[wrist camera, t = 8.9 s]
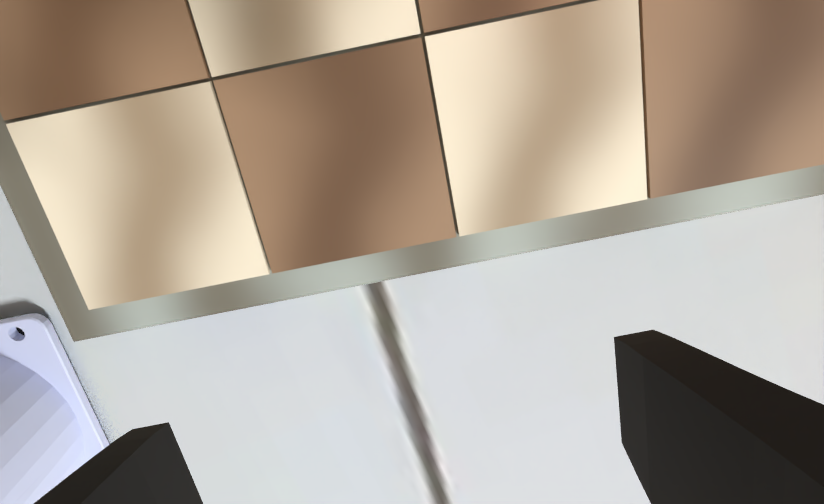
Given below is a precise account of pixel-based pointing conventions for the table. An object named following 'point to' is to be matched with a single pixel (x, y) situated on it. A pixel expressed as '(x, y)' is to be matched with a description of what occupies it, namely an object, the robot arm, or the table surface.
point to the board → (381, 137)
